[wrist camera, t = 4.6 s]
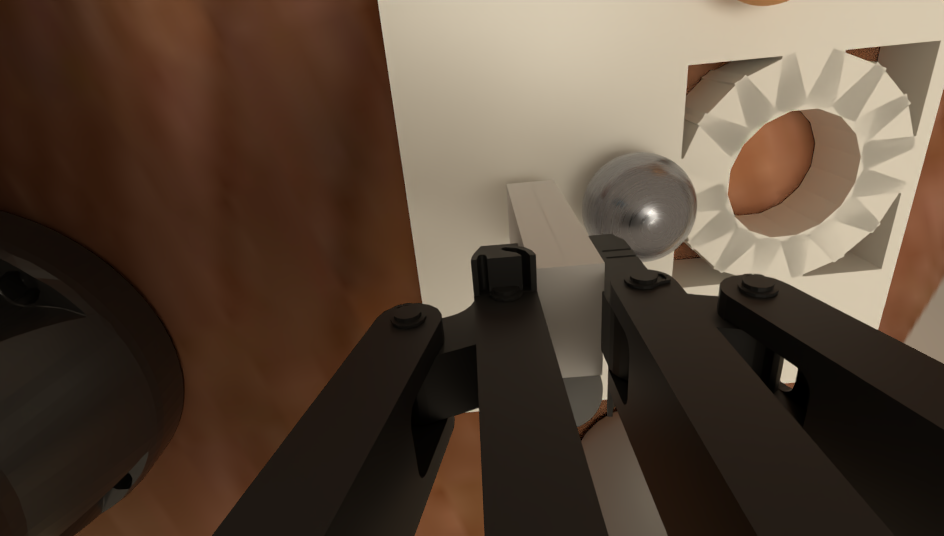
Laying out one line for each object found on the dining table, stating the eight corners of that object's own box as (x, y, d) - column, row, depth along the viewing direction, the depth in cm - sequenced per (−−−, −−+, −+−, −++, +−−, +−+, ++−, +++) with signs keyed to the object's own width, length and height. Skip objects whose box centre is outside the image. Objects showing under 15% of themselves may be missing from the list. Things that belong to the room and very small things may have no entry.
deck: (440, 379, 24) (438, 414, 22) (376, -76, 17) (363, -92, 15) (826, 343, 24) (865, 375, 22) (934, -132, 17) (1010, -159, 14)
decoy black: (520, 397, 22) (530, 450, 19) (516, 336, 21) (525, 383, 18) (592, 391, 22) (611, 442, 19) (592, 329, 21) (613, 375, 18)
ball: (572, 243, 19) (596, 286, 16) (571, 147, 18) (597, 172, 14) (668, 234, 19) (711, 275, 16) (675, 137, 17) (724, 160, 14)
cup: (573, 401, 25) (629, 578, 17) (778, 393, 25) (931, 564, 17) (566, 509, 28) (611, 702, 20) (749, 501, 28) (868, 690, 20)
